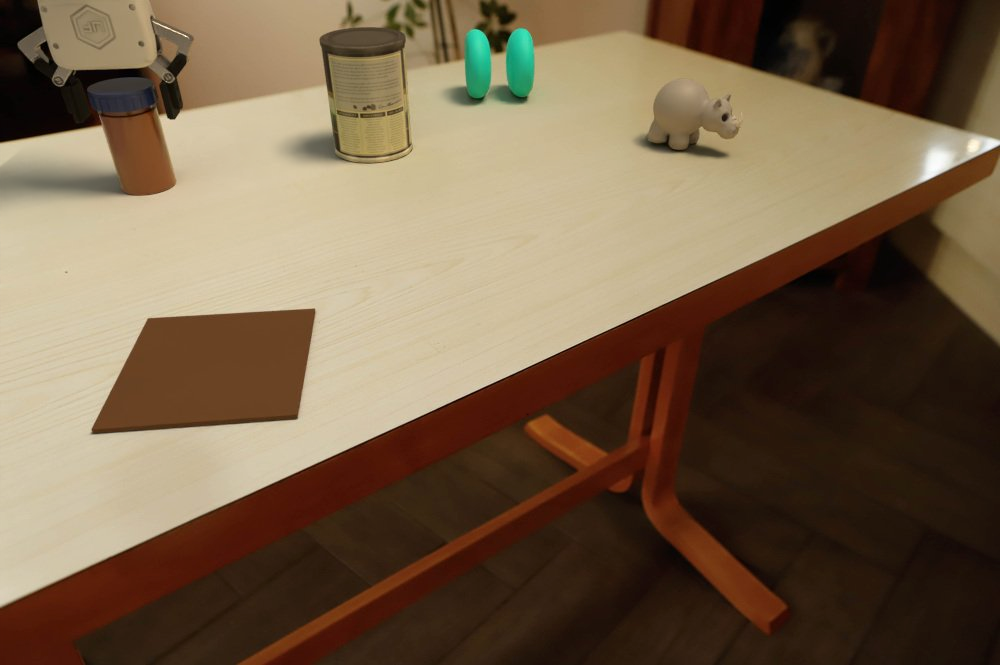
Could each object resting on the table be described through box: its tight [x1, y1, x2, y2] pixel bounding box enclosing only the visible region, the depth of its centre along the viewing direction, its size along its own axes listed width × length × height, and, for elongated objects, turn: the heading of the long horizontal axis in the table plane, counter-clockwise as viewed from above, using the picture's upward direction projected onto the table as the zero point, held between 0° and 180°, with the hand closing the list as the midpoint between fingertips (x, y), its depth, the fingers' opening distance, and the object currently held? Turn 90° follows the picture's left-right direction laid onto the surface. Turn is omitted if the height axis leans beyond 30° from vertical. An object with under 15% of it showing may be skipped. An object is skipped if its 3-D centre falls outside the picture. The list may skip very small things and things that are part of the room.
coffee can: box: [318, 26, 414, 164], centre depth 91 cm, size 10×10×14 cm
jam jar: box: [97, 103, 177, 196], centre depth 82 cm, size 6×6×11 cm
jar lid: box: [86, 76, 159, 113], centre depth 79 cm, size 7×7×2 cm
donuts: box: [464, 27, 535, 99], centre depth 111 cm, size 10×10×10 cm
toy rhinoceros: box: [647, 77, 744, 151], centre depth 94 cm, size 7×12×8 cm, turn 51°
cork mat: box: [90, 308, 317, 434], centre depth 56 cm, size 14×14×1 cm
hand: (129, 117), depth 81 cm, fingers open, 9 cm apart
